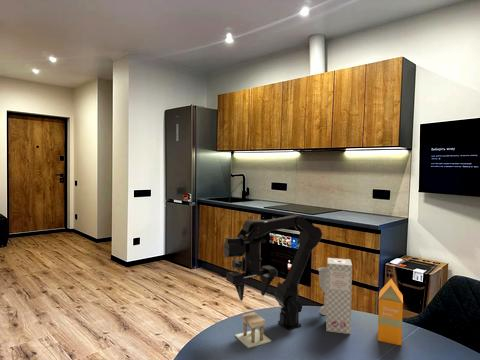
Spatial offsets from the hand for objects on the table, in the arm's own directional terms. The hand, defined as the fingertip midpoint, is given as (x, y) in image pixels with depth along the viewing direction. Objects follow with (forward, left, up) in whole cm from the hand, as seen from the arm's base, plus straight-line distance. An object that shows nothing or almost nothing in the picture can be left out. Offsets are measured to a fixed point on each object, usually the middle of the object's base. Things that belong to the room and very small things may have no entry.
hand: (252, 297), depth 122 cm
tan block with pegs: (+2, +4, -12) cm, 13 cm away
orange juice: (-42, +26, -13) cm, 51 cm away
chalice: (-36, 0, -13) cm, 38 cm away
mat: (+2, +5, -13) cm, 13 cm away
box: (-31, +12, -13) cm, 35 cm away
